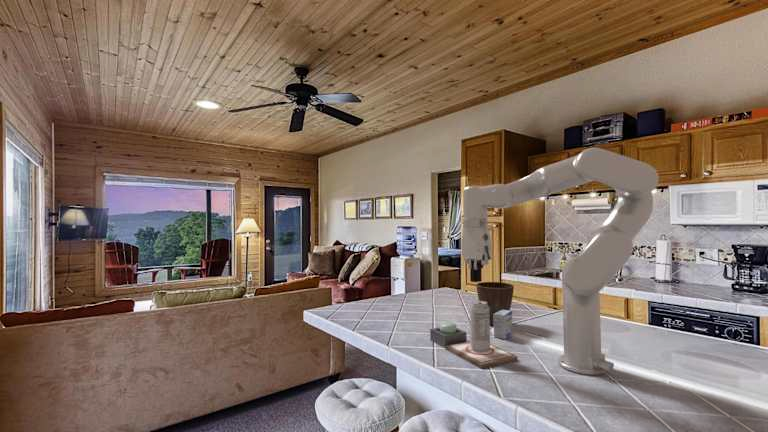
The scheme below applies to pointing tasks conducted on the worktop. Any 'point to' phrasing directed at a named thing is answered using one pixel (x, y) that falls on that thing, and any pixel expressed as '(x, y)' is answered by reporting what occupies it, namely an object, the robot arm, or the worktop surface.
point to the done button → (447, 328)
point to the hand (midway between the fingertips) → (475, 281)
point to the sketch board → (481, 355)
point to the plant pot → (495, 296)
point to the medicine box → (502, 324)
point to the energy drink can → (479, 326)
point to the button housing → (447, 337)
